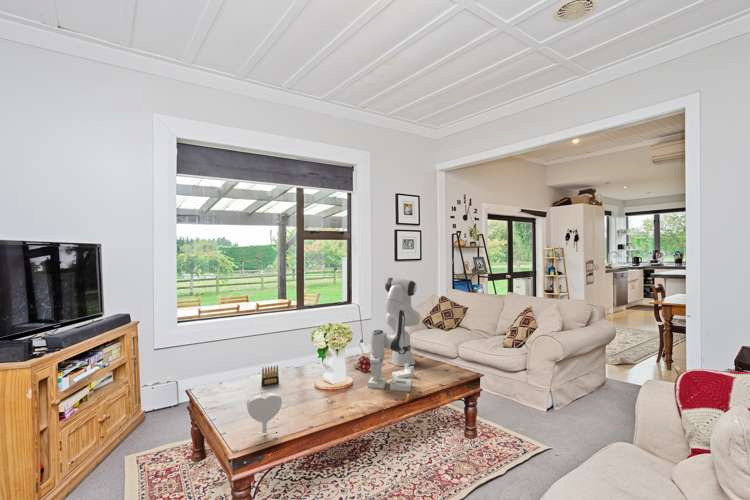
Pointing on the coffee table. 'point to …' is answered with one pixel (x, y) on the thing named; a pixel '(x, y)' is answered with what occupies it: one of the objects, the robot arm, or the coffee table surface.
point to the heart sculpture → (264, 408)
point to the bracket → (404, 372)
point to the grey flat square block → (376, 383)
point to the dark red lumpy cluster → (363, 364)
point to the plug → (378, 377)
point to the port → (401, 384)
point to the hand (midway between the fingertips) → (377, 378)
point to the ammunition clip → (270, 376)
